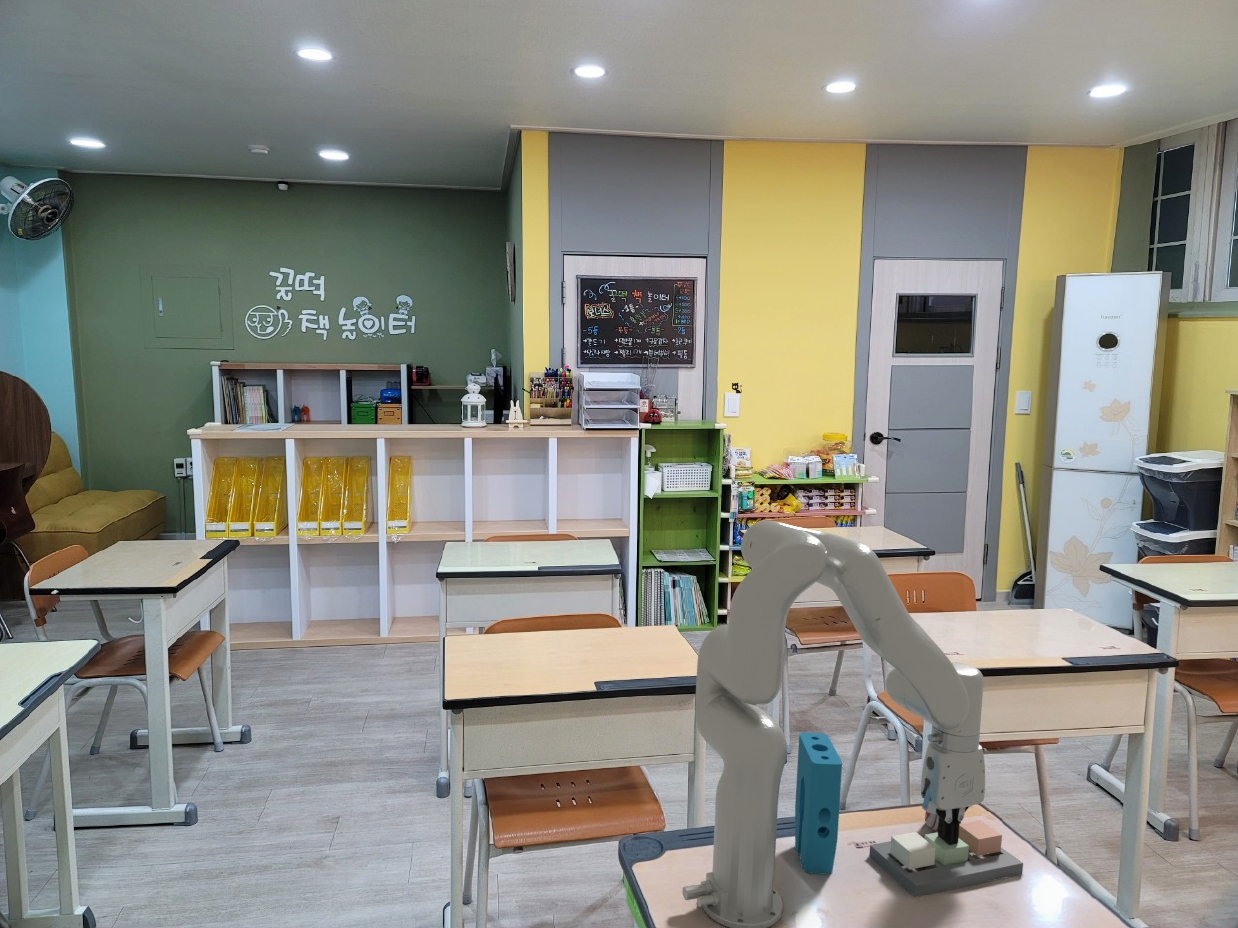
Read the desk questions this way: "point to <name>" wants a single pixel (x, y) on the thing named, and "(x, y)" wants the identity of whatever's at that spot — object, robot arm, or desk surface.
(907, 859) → the cream button
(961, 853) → the sage button
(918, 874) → the button panel
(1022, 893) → the desk surface
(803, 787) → the block
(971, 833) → the terracotta button
